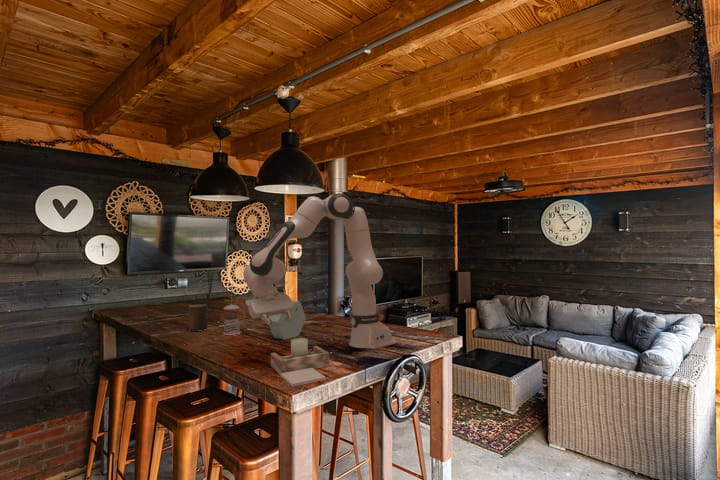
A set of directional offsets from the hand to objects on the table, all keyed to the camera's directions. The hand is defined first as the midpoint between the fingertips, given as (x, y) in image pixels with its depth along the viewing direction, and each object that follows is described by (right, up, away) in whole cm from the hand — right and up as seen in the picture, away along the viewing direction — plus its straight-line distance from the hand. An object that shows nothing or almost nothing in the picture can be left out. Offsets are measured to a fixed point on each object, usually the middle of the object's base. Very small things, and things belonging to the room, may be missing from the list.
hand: (279, 322), depth 156 cm
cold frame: (+10, -15, -8) cm, 20 cm away
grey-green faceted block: (-4, -16, +40) cm, 43 cm away
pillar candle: (-57, -17, +58) cm, 83 cm away
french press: (-35, -17, +48) cm, 61 cm away
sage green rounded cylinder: (+9, -15, -8) cm, 20 cm away
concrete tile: (+13, -15, -22) cm, 29 cm away
